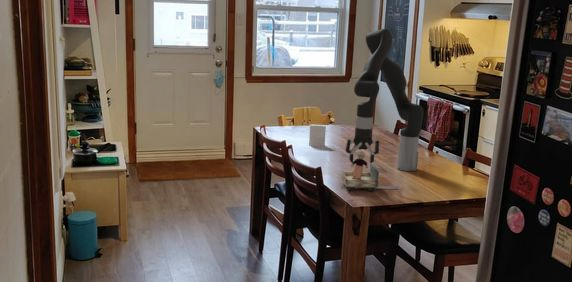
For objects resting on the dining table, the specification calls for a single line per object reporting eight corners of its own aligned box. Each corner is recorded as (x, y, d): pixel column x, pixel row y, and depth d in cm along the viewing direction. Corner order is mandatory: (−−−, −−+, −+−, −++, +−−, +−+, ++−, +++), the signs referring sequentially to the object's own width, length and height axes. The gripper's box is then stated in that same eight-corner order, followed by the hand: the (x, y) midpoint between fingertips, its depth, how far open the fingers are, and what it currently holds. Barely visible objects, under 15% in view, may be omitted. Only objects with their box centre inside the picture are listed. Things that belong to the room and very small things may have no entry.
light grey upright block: (324, 144, 340) (326, 124, 337) (324, 148, 331) (325, 127, 329) (309, 143, 341) (310, 123, 338) (308, 147, 332) (309, 126, 329)
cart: (371, 183, 269) (373, 163, 266) (377, 192, 256) (378, 171, 254) (341, 182, 268) (342, 162, 266) (345, 191, 255) (346, 170, 253)
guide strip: (397, 187, 264) (397, 186, 264) (398, 189, 261) (399, 188, 261) (340, 185, 263) (340, 185, 263) (340, 187, 260) (341, 187, 260)
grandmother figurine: (351, 179, 257) (356, 151, 255) (347, 177, 261) (352, 149, 259) (367, 180, 260) (372, 153, 258) (363, 178, 263) (368, 151, 261)
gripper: (378, 125, 260) (375, 160, 263) (346, 124, 259) (344, 159, 262) (381, 128, 252) (379, 165, 256) (349, 127, 251) (346, 164, 255)
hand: (361, 162), depth 259 cm, fingers open, 8 cm apart
